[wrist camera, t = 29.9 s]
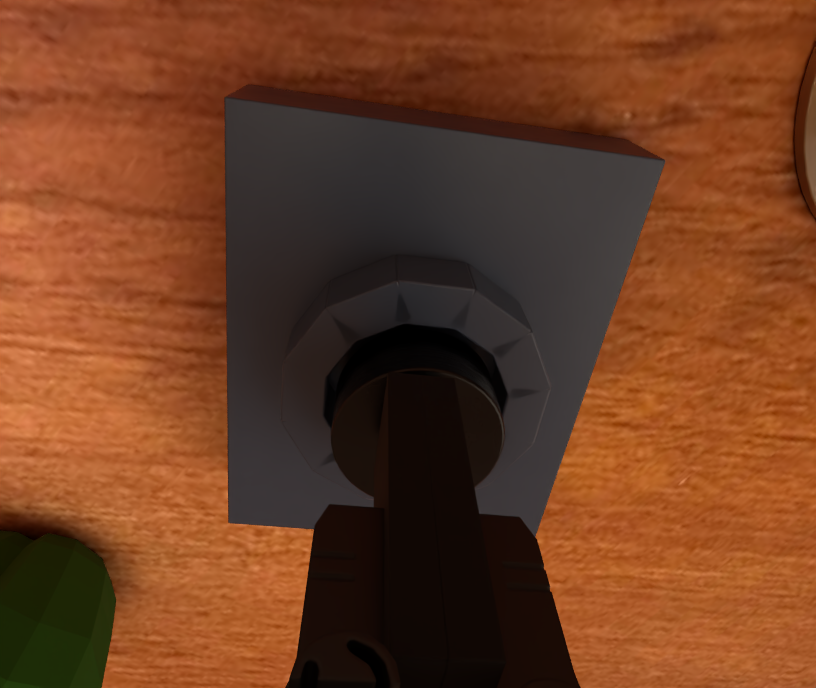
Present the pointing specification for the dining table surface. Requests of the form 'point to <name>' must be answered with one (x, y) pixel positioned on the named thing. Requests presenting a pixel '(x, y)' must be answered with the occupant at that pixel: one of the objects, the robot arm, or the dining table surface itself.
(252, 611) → the dining table surface
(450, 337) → the button
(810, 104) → the coaster
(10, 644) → the bell pepper
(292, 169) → the plate
